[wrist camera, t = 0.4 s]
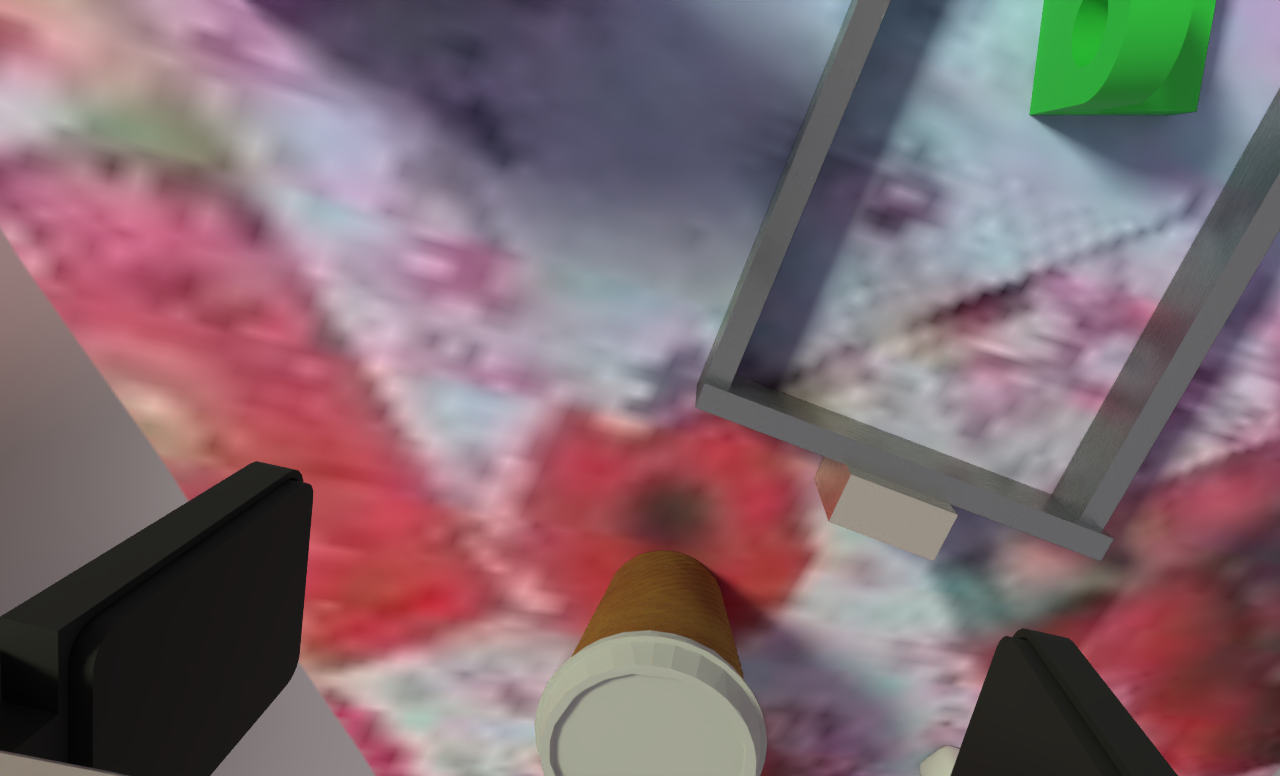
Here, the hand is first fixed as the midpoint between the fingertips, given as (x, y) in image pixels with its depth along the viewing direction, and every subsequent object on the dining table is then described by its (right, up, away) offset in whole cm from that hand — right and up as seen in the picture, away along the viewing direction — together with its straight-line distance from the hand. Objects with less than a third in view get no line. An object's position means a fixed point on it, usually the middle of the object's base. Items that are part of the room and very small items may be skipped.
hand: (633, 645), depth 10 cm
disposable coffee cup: (+1, -8, +32) cm, 33 cm away
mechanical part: (+20, +21, +23) cm, 37 cm away
